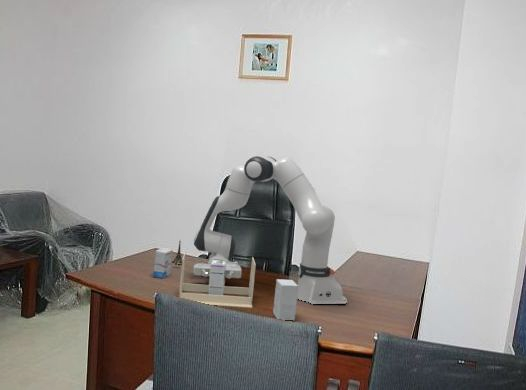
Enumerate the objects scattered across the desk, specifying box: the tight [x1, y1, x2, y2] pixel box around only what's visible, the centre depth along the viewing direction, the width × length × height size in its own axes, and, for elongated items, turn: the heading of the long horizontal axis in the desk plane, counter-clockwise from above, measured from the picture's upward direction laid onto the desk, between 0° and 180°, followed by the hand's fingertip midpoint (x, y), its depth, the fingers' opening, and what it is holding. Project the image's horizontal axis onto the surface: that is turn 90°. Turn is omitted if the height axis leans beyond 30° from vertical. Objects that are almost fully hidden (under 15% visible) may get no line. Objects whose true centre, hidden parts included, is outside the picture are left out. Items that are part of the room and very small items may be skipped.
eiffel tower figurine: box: [172, 240, 183, 269], centre depth 233 cm, size 15×10×13 cm
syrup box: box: [207, 260, 226, 296], centre depth 186 cm, size 6×6×14 cm
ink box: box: [153, 247, 174, 279], centre depth 209 cm, size 8×5×12 cm, turn 168°
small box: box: [272, 278, 298, 322], centre depth 172 cm, size 8×6×13 cm
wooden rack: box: [178, 251, 257, 309], centre depth 186 cm, size 28×19×16 cm
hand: (217, 275), depth 191 cm, fingers open, 8 cm apart
